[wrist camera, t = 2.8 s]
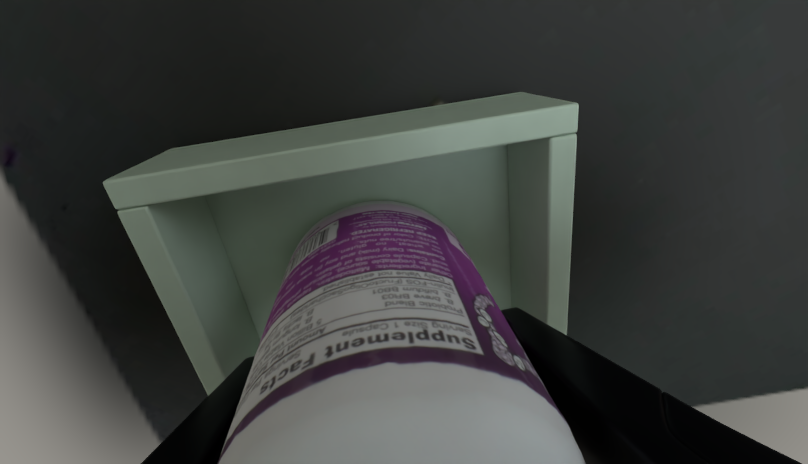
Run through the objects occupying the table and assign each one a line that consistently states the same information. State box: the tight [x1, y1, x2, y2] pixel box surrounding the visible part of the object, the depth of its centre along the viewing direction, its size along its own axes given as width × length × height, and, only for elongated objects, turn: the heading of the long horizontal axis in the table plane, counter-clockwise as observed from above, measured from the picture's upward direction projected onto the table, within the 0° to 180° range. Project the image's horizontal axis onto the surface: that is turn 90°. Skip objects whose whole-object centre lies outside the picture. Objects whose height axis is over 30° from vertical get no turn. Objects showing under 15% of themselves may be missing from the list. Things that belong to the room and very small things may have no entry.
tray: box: [103, 92, 579, 396], centre depth 10 cm, size 9×9×3 cm
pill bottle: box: [217, 201, 585, 464], centre depth 7 cm, size 5×5×10 cm
